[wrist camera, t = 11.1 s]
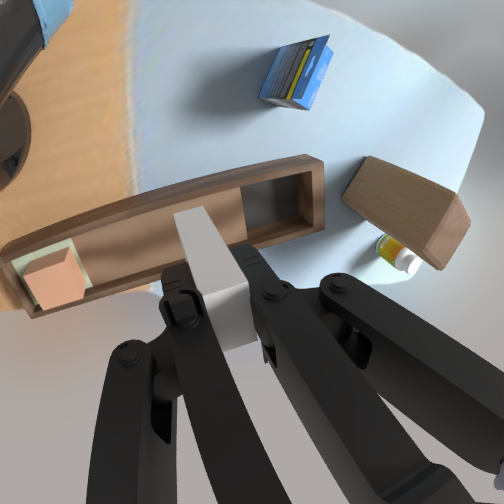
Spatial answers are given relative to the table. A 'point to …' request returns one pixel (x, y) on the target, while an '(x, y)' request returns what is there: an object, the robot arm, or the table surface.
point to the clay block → (55, 279)
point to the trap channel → (174, 226)
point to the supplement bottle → (397, 254)
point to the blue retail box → (297, 74)
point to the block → (409, 209)
